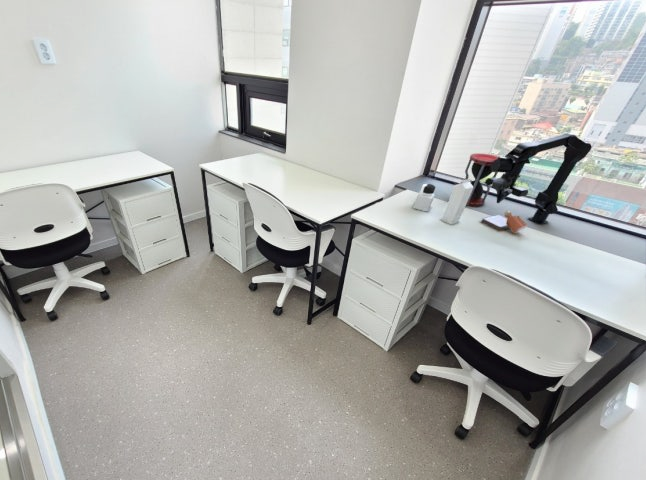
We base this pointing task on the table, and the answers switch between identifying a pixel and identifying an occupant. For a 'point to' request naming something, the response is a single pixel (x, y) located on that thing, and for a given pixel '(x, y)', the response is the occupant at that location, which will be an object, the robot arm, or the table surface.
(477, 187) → the hourglass
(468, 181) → the milk
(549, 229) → the table surface
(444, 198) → the table surface
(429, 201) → the container
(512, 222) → the bottle
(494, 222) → the riser
